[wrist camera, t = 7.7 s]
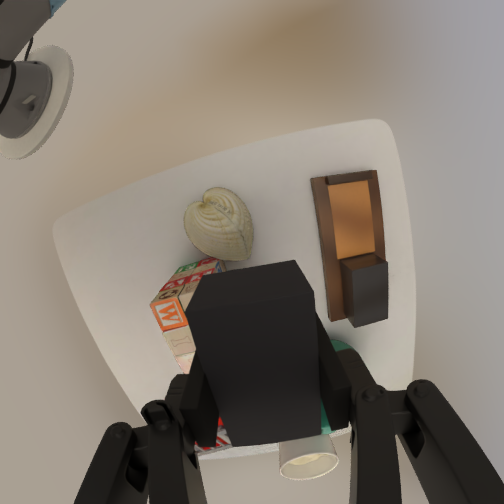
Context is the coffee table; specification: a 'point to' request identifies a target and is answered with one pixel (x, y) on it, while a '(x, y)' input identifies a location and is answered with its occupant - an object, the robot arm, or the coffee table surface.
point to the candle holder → (307, 457)
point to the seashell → (220, 225)
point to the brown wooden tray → (352, 246)
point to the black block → (259, 351)
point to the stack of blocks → (181, 308)
